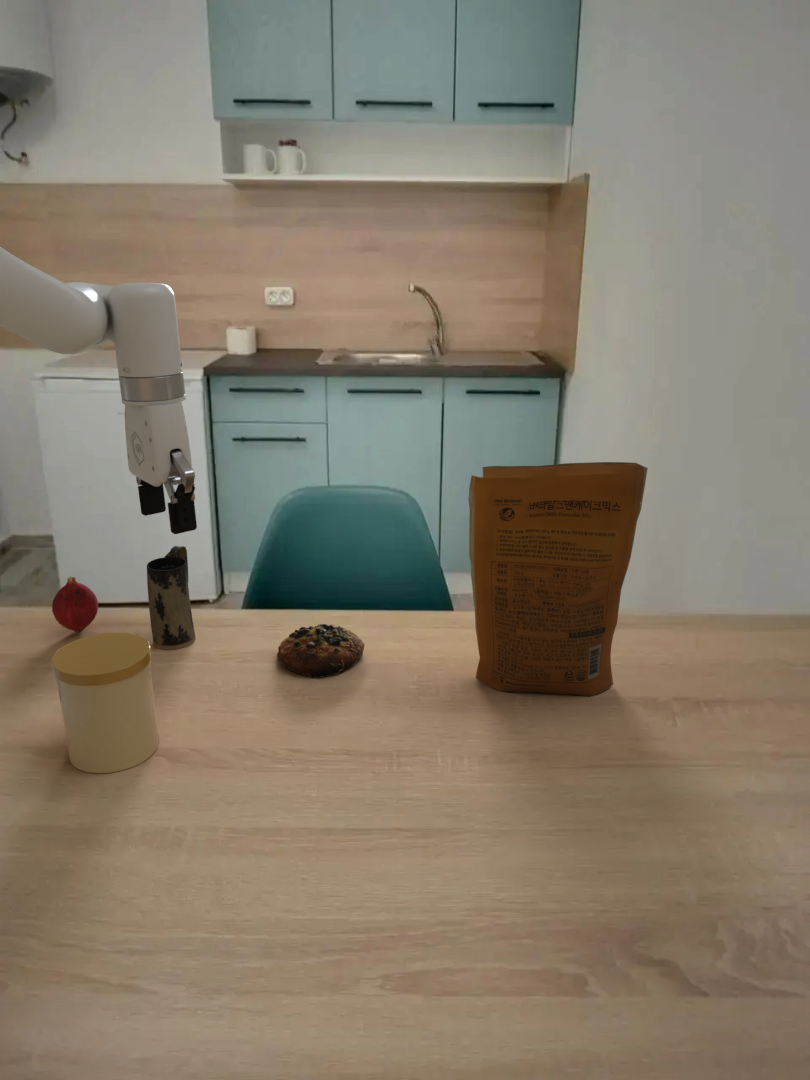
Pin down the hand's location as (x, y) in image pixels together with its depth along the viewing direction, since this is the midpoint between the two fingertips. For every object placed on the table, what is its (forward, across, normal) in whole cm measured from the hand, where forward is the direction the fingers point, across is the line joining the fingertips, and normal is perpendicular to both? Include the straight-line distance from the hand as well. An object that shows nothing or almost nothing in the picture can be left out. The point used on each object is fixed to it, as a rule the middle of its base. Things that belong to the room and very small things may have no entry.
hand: (168, 522), depth 107 cm
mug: (+16, 0, 0) cm, 17 cm away
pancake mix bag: (+17, +40, +28) cm, 52 cm away
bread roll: (+17, +17, +12) cm, 26 cm away
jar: (+16, +21, -16) cm, 31 cm away
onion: (+16, -10, -10) cm, 22 cm away
